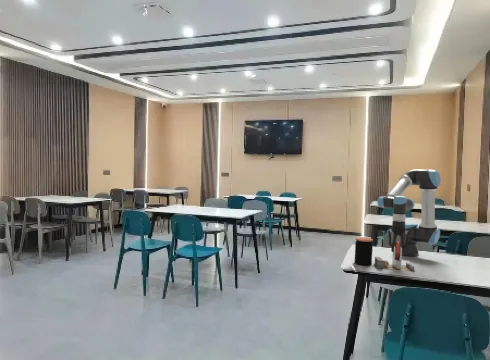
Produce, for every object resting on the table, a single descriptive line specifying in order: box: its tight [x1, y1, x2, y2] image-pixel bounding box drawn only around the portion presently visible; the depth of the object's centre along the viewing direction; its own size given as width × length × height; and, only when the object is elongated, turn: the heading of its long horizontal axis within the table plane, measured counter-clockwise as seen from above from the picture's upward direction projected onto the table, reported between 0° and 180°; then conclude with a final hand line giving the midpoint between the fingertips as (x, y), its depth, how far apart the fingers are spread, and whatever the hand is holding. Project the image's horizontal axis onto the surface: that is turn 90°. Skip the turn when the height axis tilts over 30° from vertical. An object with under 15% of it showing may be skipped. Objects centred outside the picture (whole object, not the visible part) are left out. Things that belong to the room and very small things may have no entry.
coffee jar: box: [354, 236, 374, 267], centre depth 236 cm, size 11×11×18 cm
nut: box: [383, 260, 390, 267], centre depth 231 cm, size 4×4×4 cm
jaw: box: [391, 241, 402, 269], centre depth 230 cm, size 9×3×16 cm, turn 173°
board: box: [372, 256, 416, 272], centre depth 230 cm, size 13×22×6 cm, turn 83°
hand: (397, 257), depth 230 cm, fingers closed on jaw, 3 cm apart
